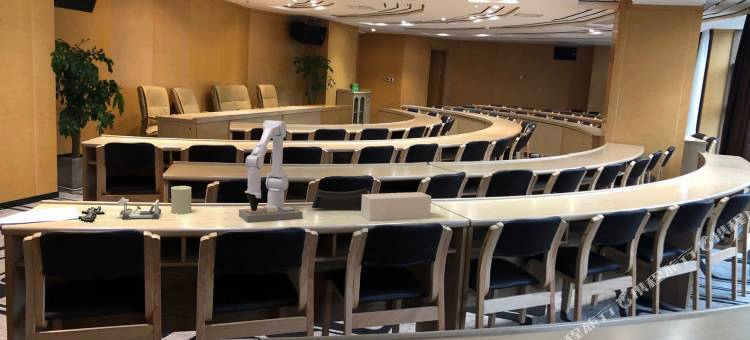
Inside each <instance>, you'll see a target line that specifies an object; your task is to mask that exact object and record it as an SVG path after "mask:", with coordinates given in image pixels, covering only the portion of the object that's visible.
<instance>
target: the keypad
mask: <svg viewBox="0 0 750 340" xmlns="http://www.w3.org/2000/svg"><path fill="white" fill-rule="evenodd" d="M284 207H291V208H293V209H294V211H282V210H280V207H277V208H278V212H268V213H266V212H265V211H264V207H257V209H258V210H260V211H261V213H254V214H249V213H248V212H247V210H250V209H251V208H244V209H243V208H242V209H240V208H239V209H238V217H240V218H241V219H242V220H244V222H246V223H258V222H259V223H260V222H261V223H262V222H273V221H287V220H300V219H301V220H302V219H303V212H302V211H301V210H300V209H298V208H296V207H294V206H292V205H287V206H285V205H284Z"/></svg>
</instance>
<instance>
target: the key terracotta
mask: <svg viewBox="0 0 750 340" xmlns="http://www.w3.org/2000/svg"><path fill="white" fill-rule="evenodd" d="M249 209H250V210H247V212H248V213H249V214H254V213H261V211H260V210H258V209H257V210H256V211H251V208H249Z"/></svg>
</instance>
